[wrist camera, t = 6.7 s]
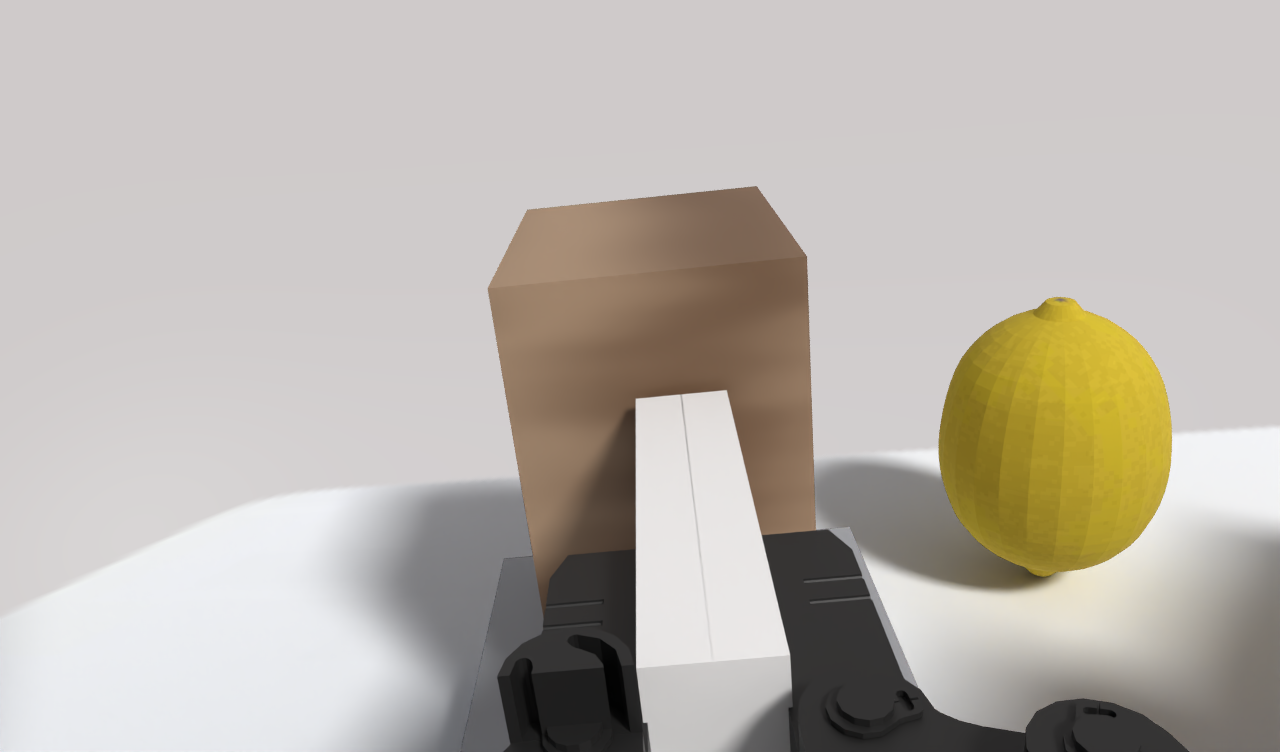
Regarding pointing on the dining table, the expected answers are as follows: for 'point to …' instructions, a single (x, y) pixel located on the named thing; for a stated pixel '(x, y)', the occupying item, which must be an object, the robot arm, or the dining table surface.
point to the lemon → (1056, 439)
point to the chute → (523, 621)
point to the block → (650, 355)
